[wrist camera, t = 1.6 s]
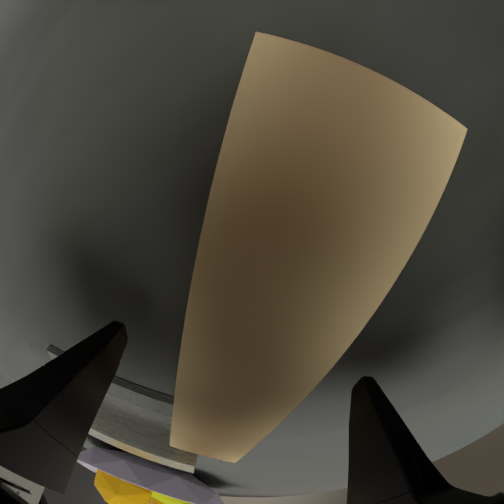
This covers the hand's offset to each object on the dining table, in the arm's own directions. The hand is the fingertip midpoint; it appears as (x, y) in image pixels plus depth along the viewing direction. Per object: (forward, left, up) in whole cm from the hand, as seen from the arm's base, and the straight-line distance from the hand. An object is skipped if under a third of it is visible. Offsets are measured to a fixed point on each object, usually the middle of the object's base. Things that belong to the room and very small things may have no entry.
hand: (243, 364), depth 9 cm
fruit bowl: (+7, +42, -3) cm, 43 cm away
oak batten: (0, 0, -3) cm, 3 cm away
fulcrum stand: (+7, +13, -2) cm, 15 cm away
